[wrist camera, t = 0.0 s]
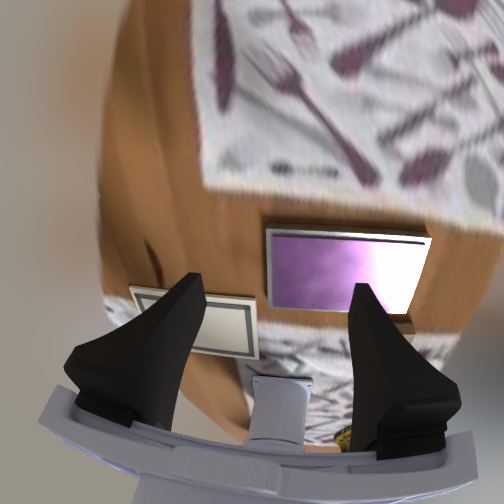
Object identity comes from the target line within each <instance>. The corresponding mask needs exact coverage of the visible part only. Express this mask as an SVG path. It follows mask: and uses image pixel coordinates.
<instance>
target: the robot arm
mask: <svg viewBox="0 0 504 504" xmlns="http://www.w3.org/2000/svg"><path fill="white" fill-rule="evenodd" d="M206 307H207V301H206V296H205V292H204V287H203V282H202V277H201V273H191V272H189V273H188V274H187V275H185V276H184V277H183V278H182V279H181V280H180V281H179V282H178V283H177V284H176V285H174V286H173V287H172V288H171V289H170V290H169V291H168V292H167V293H166V294H164V295H163V296H162V297H161V298H160V299H159V300H157V301H156V302H155V303H154V304H153V305H151V306H150V307H149V308H148V309H146V310H145V311H144V312H142V313H141V314H140V315H138V316H137V317H135V318H134V319H132V320H131V321H129V322H128V323H126V324H124V325H122V326H121V327H119V328H117V329H116V330H114V331H112V332H110V333H108V334H106V335H104V336H102V337H100V338H97V339H95V340H92V341H90V342H87V343H84V344H81V345H78V346H76V347H75V348H74V350H73V351H72V353H71V355H70V356H69V358H68V359H67V361H66V363H65V365H64V370H65V373H66V374H67V375H68V377H69V378H70V379H71V380H72V381H73V382H74V384H75V385H76V386H77V387H78V388H79V389H80V392H79V394H78V395H77V394H76V393H75V392H73V391H71V390H69V389H67V388H65V387H63V386H60V385H57V386H56V388H55V389H54V391H53V393H52V395H51V397H50V399H49V400H48V402H47V404H46V406H45V408H44V410H43V411H42V413H41V415H40V417H39V420H38V423H39V424H40V425H41V426H42V427H44V428H45V429H46V430H48V431H49V432H50V433H52V434H53V435H54V436H56V437H57V438H59V439H60V440H61V441H63V442H64V443H66V444H68V445H69V446H71V447H73V448H75V449H77V450H79V451H80V452H82V453H84V454H86V455H88V456H90V457H92V458H94V459H96V460H98V461H100V462H102V463H104V464H106V465H108V466H110V467H112V468H115V469H117V470H119V471H121V472H124V473H126V474H128V475H131V476H133V477H136V478H138V479H140V480H139V483H138V486H137V488H136V491H135V494H134V497H133V500H132V503H131V504H403V503H407V502H412V501H417V500H422V499H426V498H430V497H434V496H438V495H441V494H445V493H448V492H451V491H453V490H456V489H458V488H460V487H463V486H465V485H467V484H469V483H472V482H474V481H476V480H477V479H478V472H477V462H476V453H475V447H474V439H473V433H472V431H471V430H470V431H466V432H462V433H457V434H453V435H450V436H447V437H446V438H445V433H444V432H445V431H446V430H447V423H446V422H447V421H448V420H449V419H450V418H451V417H453V416H454V415H455V414H456V413H457V412H458V410H459V409H460V408H461V405H462V403H461V398H460V393H459V390H458V387H457V384H456V383H454V382H453V381H452V380H450V379H449V378H448V377H446V376H445V375H443V374H442V373H441V372H439V371H438V370H437V369H436V368H435V367H433V366H432V365H431V364H430V363H429V362H428V361H427V360H426V359H425V358H424V357H422V356H421V355H420V354H419V353H418V352H417V351H416V350H415V349H414V347H413V346H412V345H411V344H410V343H409V342H408V341H407V340H406V338H405V337H404V336H403V335H402V333H401V332H400V331H399V329H398V328H397V327H396V325H395V324H394V323H393V321H392V320H391V318H390V317H389V315H388V314H387V312H386V311H385V309H384V308H383V306H382V305H381V303H380V301H379V300H378V298H377V297H376V295H375V293H374V292H373V290H372V288H371V286H370V285H369V284H368V283H355V287H354V291H353V296H352V300H351V304H350V308H349V312H348V334H349V342H350V350H351V358H352V366H353V377H354V395H353V416H352V428H351V438H350V446H349V453H311V452H304V451H305V445H303V444H304V434H305V423H306V411H307V407H308V404H309V400H310V396H311V392H312V388H313V380H307V379H290V378H277V377H266V376H253V389H254V398H255V401H254V407H253V412H252V417H251V422H250V427H249V432H248V437H247V440H244V443H243V446H242V445H238V446H237V445H231V444H225V443H219V442H214V441H208V440H204V439H199V438H194V437H190V436H186V435H182V434H178V433H174V432H171V427H172V420H173V414H174V409H175V404H176V399H177V395H178V391H179V386H180V382H181V379H182V375H183V371H184V368H185V364H186V362H187V359H188V356H189V354H190V351H191V349H192V347H193V344H194V342H195V339H196V337H197V334H198V332H199V330H200V327H201V325H202V322H203V318H204V315H205V311H206Z"/></svg>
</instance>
